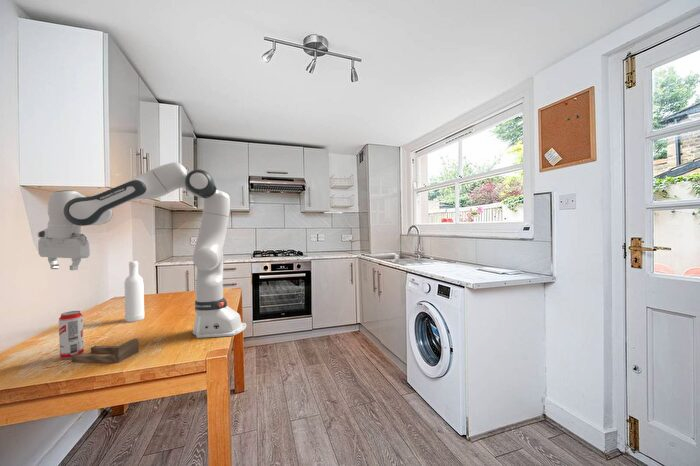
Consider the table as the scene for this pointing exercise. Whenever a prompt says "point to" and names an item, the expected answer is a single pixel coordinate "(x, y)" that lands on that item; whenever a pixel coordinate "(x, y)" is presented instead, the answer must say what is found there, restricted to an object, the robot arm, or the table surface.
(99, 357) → the rest
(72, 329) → the beer can
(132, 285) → the bottle
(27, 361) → the table surface
